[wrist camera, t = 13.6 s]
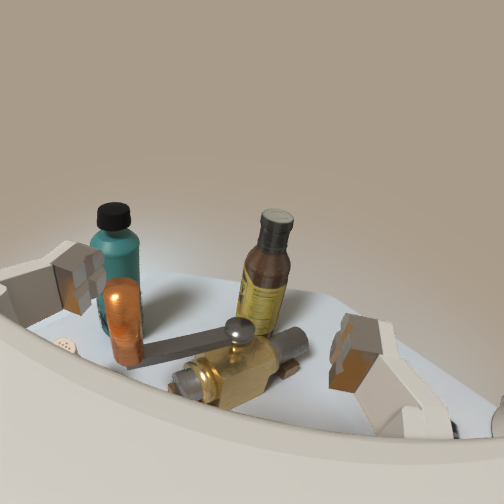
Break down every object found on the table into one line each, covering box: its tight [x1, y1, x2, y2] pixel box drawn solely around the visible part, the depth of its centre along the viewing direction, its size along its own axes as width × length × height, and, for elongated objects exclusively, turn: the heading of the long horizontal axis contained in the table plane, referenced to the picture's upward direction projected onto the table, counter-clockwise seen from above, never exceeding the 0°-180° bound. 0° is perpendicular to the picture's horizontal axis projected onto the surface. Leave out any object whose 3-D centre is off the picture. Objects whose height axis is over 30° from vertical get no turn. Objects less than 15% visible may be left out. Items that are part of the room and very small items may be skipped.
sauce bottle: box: [235, 209, 294, 338], centre depth 44 cm, size 6×6×20 cm
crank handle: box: [103, 277, 255, 370], centre depth 29 cm, size 15×3×9 cm, turn 119°
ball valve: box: [168, 327, 309, 410], centre depth 38 cm, size 18×6×10 cm, turn 125°
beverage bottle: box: [90, 202, 144, 337], centre depth 39 cm, size 6×7×20 cm
